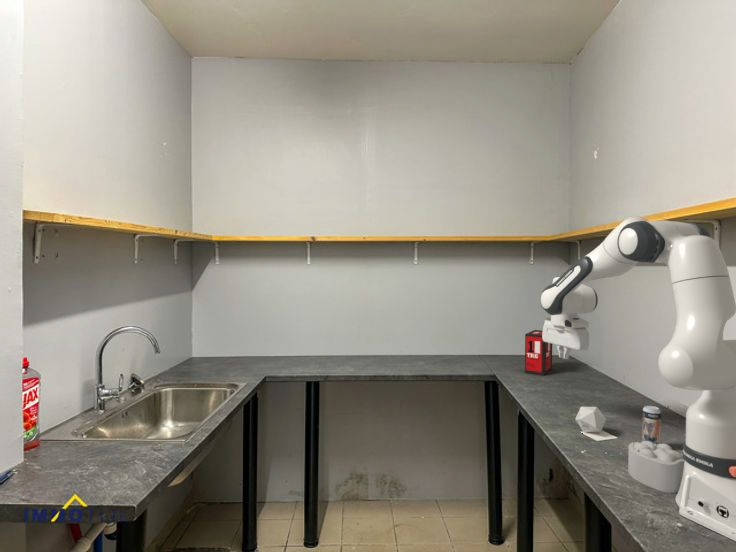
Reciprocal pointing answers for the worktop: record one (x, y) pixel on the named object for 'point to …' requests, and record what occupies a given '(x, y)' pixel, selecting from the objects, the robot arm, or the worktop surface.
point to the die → (590, 419)
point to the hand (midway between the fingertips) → (563, 358)
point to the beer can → (651, 424)
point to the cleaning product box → (537, 354)
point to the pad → (600, 436)
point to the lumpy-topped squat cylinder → (656, 465)
